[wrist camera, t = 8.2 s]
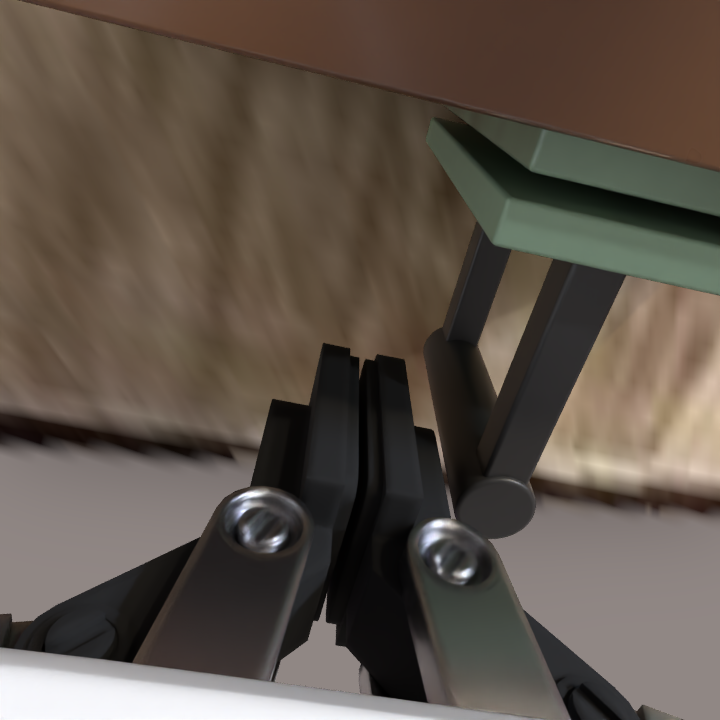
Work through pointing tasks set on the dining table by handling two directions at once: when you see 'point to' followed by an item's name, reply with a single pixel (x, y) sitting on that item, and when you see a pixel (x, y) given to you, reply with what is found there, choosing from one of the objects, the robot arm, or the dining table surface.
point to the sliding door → (538, 311)
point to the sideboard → (502, 73)
